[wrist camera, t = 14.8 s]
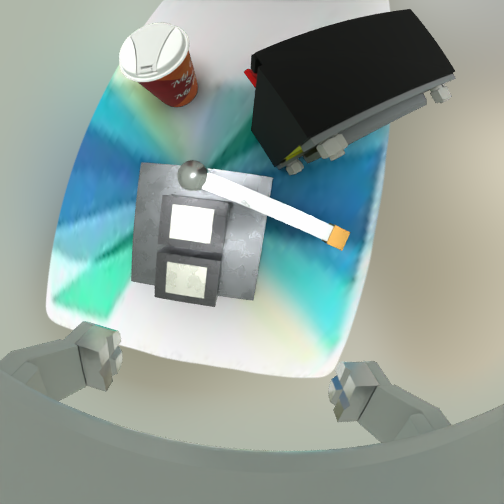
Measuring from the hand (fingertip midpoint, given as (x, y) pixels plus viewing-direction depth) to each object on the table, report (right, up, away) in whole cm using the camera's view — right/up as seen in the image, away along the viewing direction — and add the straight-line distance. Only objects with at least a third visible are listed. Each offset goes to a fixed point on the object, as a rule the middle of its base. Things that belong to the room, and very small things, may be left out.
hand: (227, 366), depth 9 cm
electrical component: (+10, +23, +26) cm, 36 cm away
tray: (-7, +7, +28) cm, 30 cm away
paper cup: (-10, +27, +24) cm, 38 cm away
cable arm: (+2, +9, +21) cm, 23 cm away
